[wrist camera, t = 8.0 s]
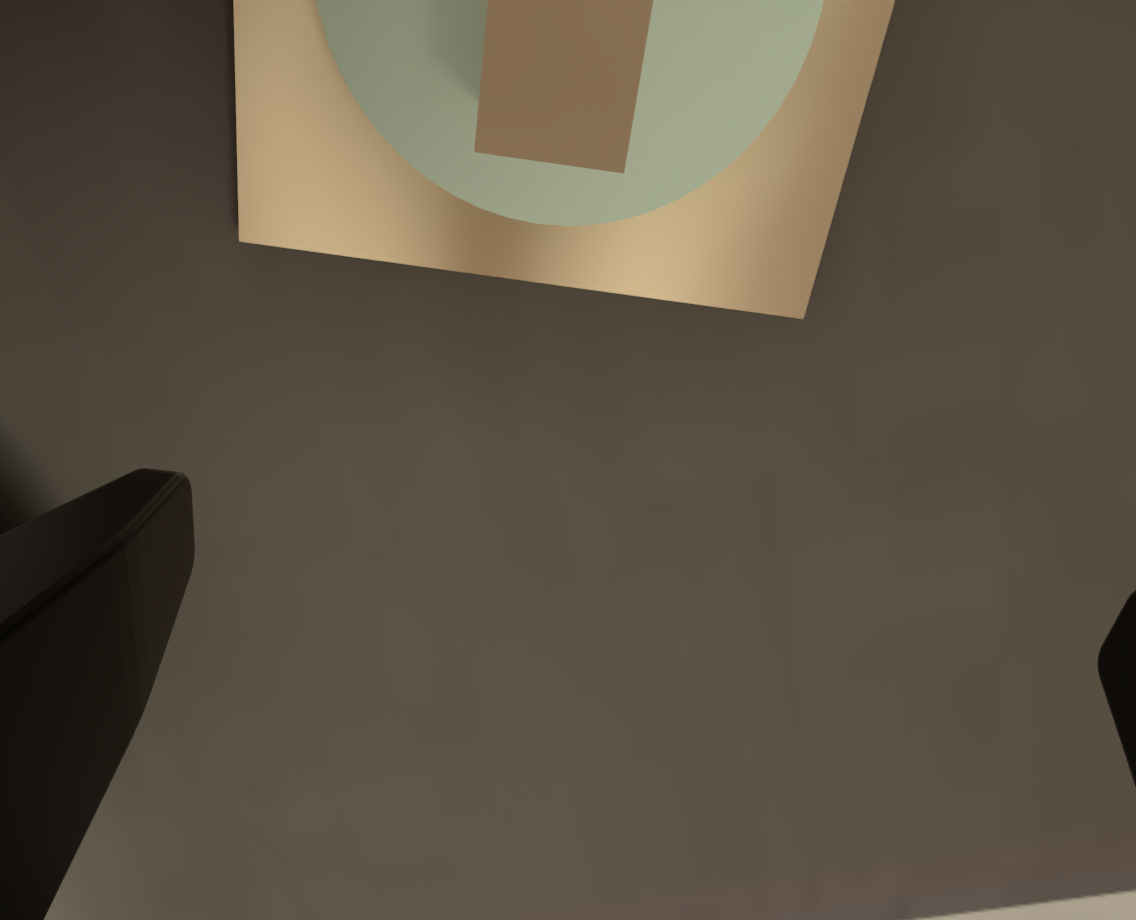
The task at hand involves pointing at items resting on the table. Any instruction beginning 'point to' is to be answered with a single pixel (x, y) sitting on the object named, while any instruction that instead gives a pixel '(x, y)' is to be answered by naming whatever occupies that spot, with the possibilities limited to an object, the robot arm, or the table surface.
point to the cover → (569, 94)
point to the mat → (538, 251)
